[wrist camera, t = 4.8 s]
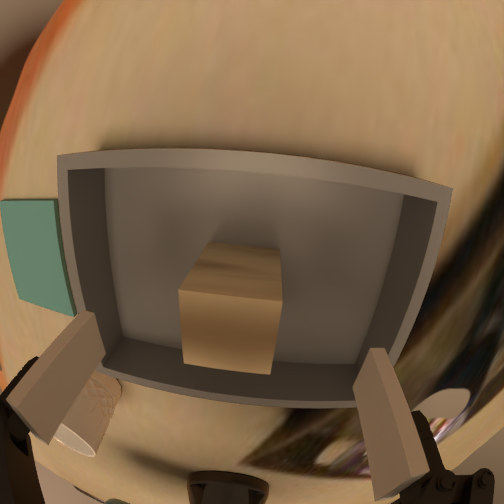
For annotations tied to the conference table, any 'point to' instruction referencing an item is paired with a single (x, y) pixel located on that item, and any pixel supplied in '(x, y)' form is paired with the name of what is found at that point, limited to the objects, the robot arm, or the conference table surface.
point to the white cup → (90, 415)
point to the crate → (249, 234)
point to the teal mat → (37, 253)
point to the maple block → (232, 308)
